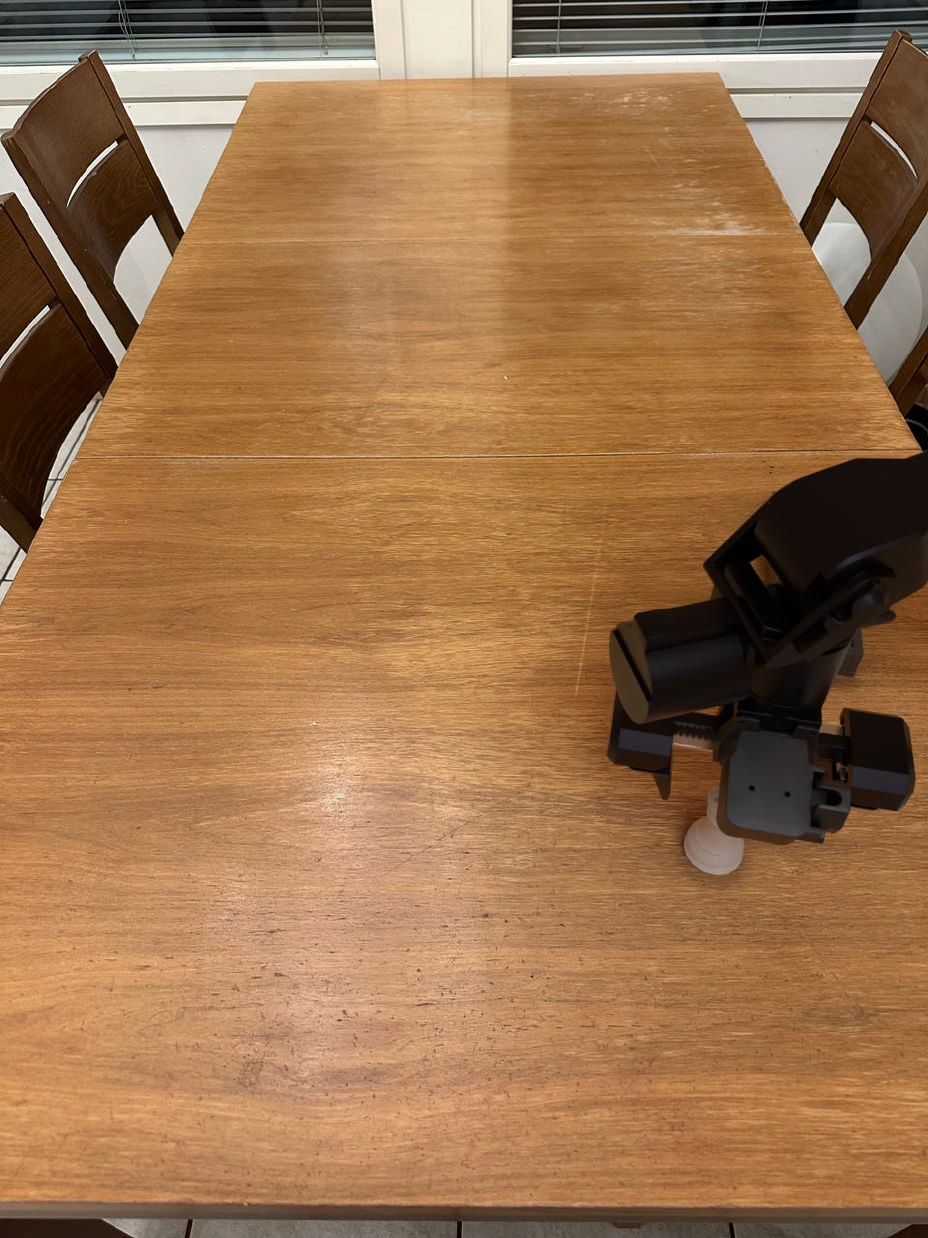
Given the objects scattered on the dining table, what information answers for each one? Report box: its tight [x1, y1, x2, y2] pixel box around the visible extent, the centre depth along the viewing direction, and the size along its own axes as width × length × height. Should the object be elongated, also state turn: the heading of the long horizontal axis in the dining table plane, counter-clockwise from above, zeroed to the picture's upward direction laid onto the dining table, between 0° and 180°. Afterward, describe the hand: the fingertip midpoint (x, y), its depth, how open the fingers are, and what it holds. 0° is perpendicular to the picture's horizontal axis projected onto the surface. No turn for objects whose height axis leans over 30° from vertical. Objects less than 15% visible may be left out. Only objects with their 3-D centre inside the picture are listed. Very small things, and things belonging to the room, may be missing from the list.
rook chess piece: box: [683, 783, 745, 876], centre depth 69 cm, size 4×4×8 cm
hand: (730, 806), depth 68 cm, fingers open, 9 cm apart
